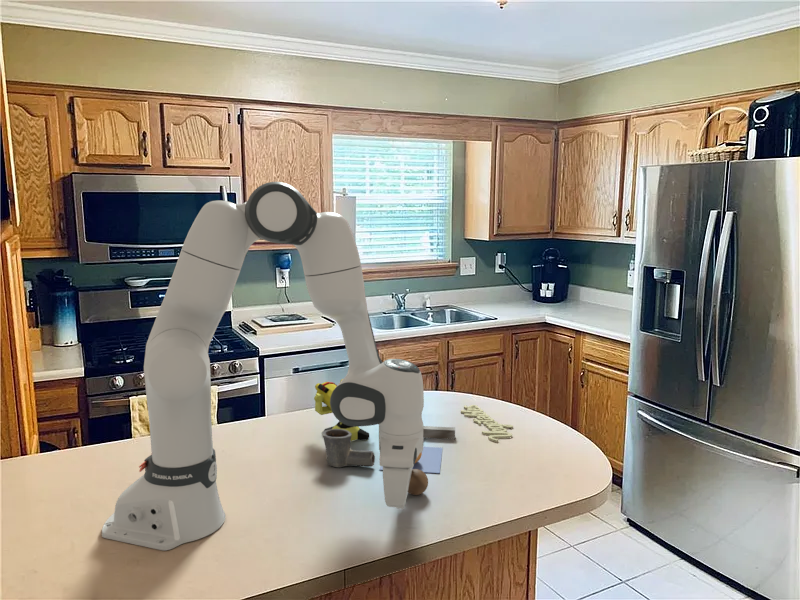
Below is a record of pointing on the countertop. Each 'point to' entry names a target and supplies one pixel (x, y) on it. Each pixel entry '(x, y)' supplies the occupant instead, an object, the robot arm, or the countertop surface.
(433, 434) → the rail
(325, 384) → the toy
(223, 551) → the countertop surface
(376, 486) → the countertop surface
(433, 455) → the blue mark
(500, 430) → the decorative sign
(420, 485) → the walnut ball
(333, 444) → the pipe
